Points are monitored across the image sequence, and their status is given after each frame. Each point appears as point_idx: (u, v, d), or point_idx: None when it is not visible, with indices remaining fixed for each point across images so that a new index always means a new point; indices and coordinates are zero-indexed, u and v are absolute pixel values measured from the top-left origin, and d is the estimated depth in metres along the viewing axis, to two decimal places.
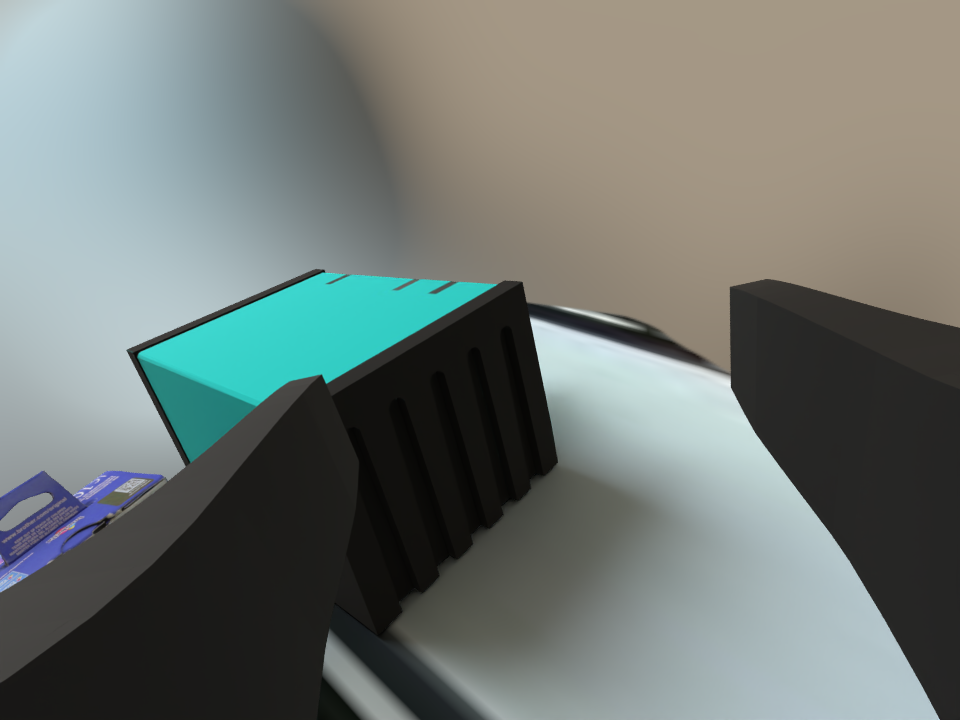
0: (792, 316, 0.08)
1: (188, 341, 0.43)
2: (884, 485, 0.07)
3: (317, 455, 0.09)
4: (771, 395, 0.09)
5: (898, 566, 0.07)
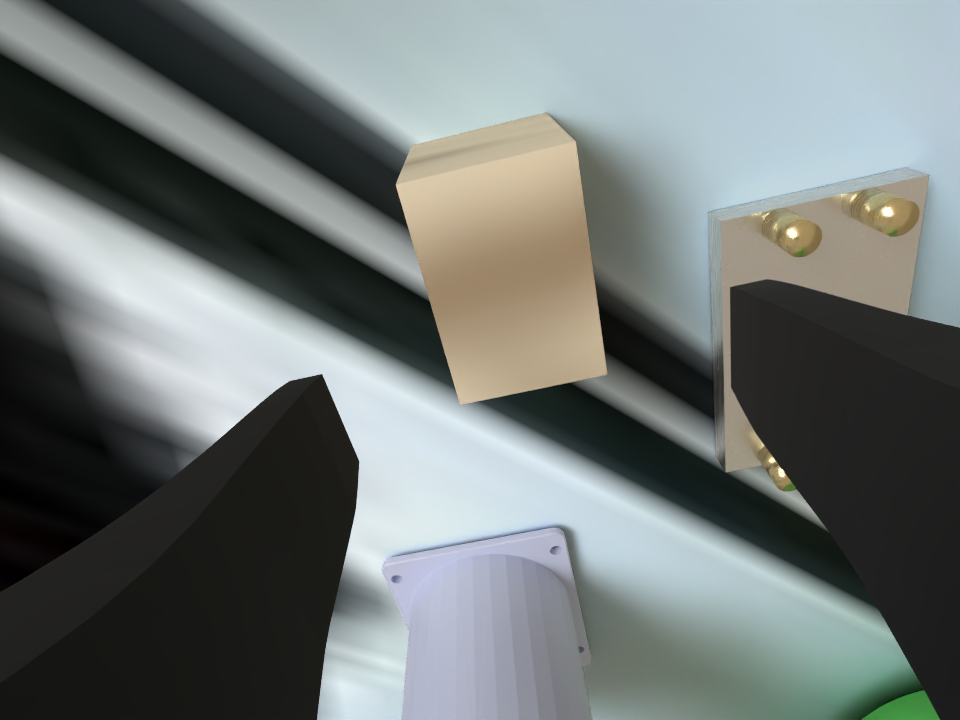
0: (792, 316, 0.08)
1: None
2: (884, 486, 0.07)
3: (317, 455, 0.09)
4: (771, 396, 0.09)
5: (898, 566, 0.07)
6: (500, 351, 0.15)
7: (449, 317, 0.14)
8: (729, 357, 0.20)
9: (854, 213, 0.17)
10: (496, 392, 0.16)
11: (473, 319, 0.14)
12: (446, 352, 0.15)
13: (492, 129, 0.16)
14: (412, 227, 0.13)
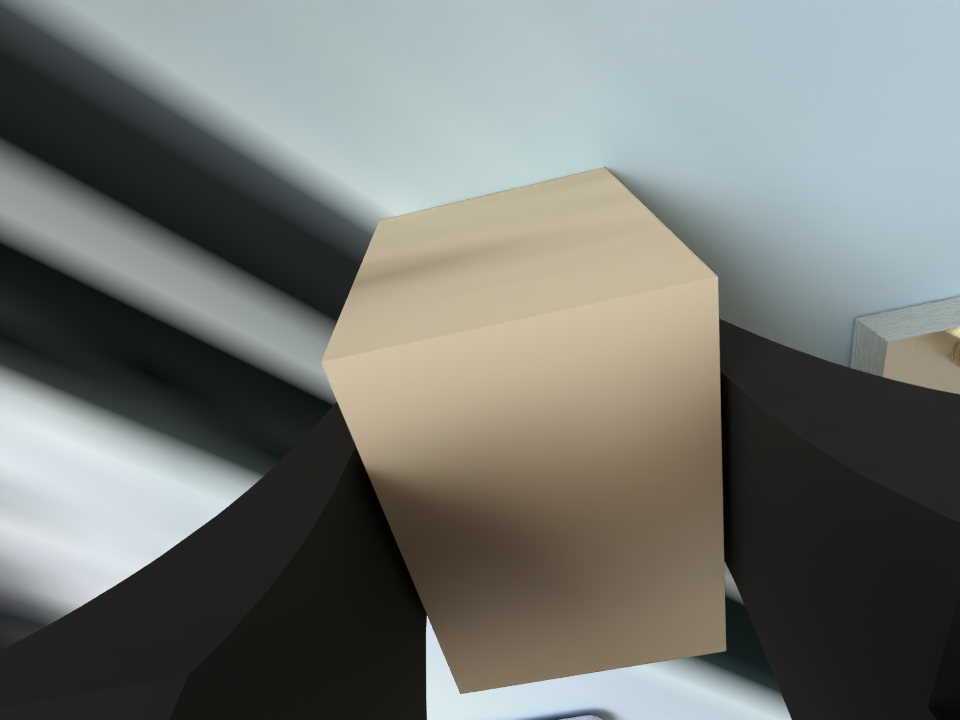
0: None
1: None
2: (748, 510, 0.07)
3: None
4: None
5: (763, 589, 0.07)
6: (535, 624, 0.08)
7: (439, 577, 0.08)
8: None
9: None
10: (526, 677, 0.09)
11: (486, 580, 0.08)
12: (434, 626, 0.08)
13: (516, 200, 0.09)
14: (361, 437, 0.06)
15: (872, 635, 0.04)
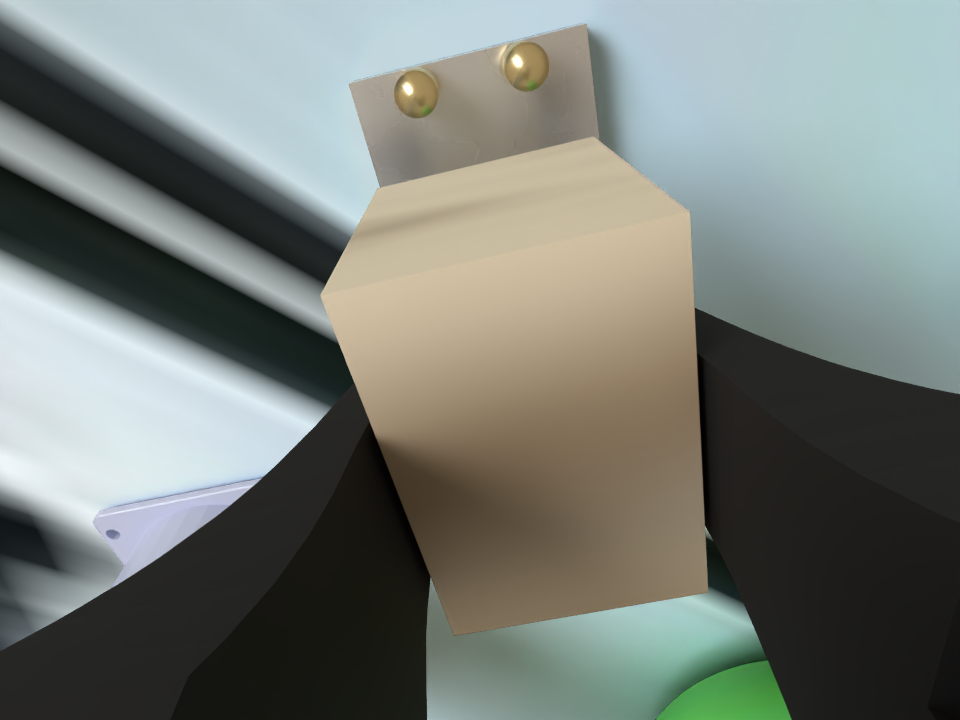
0: None
1: None
2: (748, 510, 0.07)
3: None
4: None
5: (762, 589, 0.07)
6: (524, 563, 0.08)
7: (432, 514, 0.08)
8: None
9: (502, 72, 0.14)
10: (516, 618, 0.09)
11: (476, 517, 0.08)
12: (428, 565, 0.08)
13: (507, 166, 0.10)
14: (358, 371, 0.07)
15: (871, 635, 0.04)
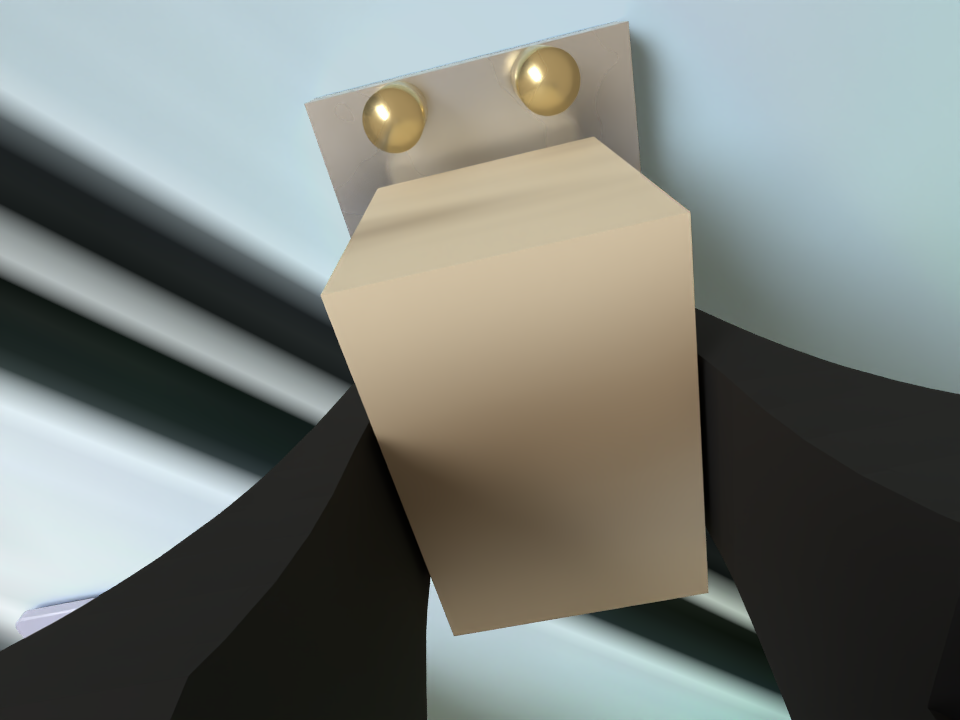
0: None
1: None
2: (748, 510, 0.07)
3: None
4: None
5: (762, 589, 0.07)
6: (525, 563, 0.08)
7: (433, 514, 0.08)
8: None
9: (513, 87, 0.10)
10: (517, 618, 0.09)
11: (477, 517, 0.08)
12: (428, 565, 0.08)
13: (507, 166, 0.10)
14: (358, 371, 0.07)
15: (871, 635, 0.04)
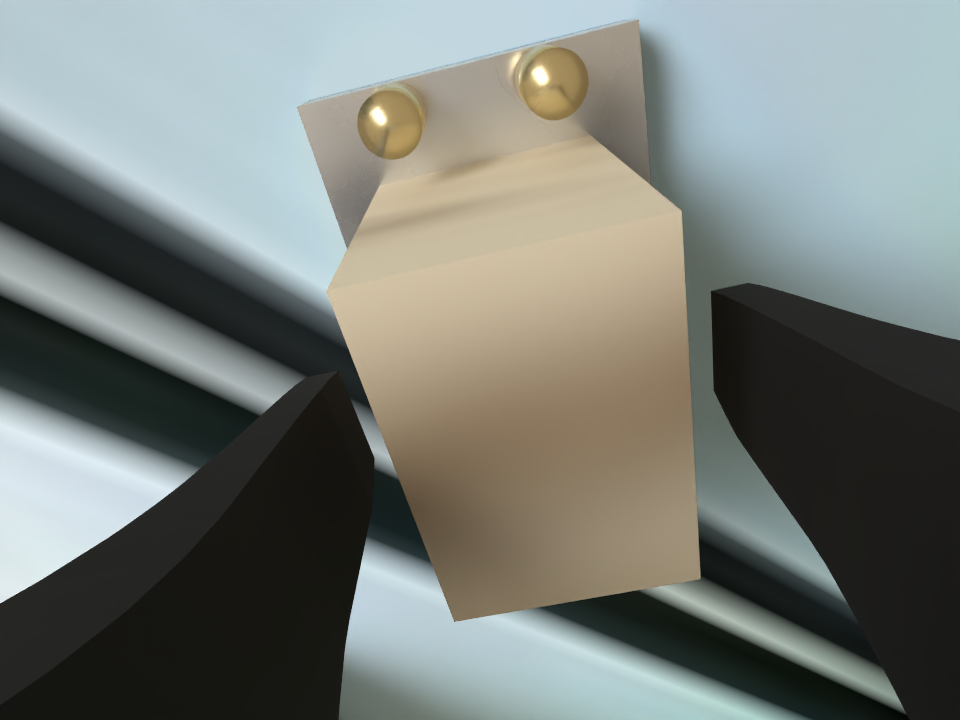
0: (769, 321, 0.08)
1: None
2: (857, 491, 0.07)
3: (335, 452, 0.09)
4: (751, 399, 0.09)
5: (871, 571, 0.07)
6: (523, 550, 0.09)
7: (433, 503, 0.08)
8: None
9: (516, 89, 0.10)
10: (515, 604, 0.09)
11: (476, 506, 0.08)
12: (429, 552, 0.09)
13: (506, 164, 0.10)
14: (362, 363, 0.07)
15: None
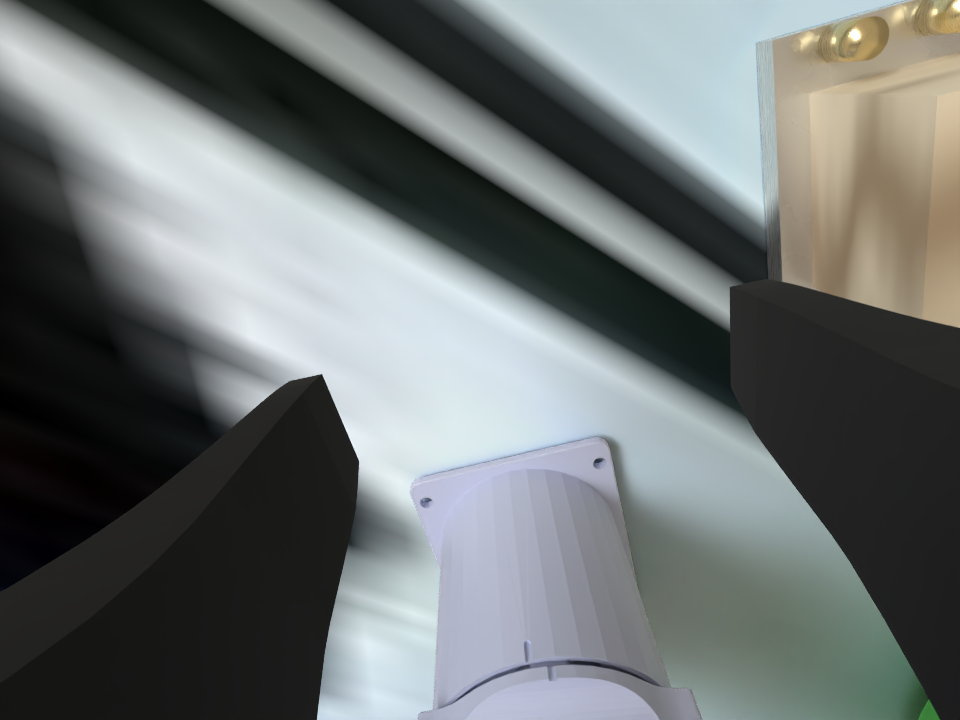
0: (792, 316, 0.08)
1: None
2: (885, 485, 0.07)
3: (316, 455, 0.09)
4: (771, 396, 0.09)
5: (898, 566, 0.07)
6: None
7: (942, 247, 0.14)
8: (786, 210, 0.18)
9: (919, 22, 0.16)
10: None
11: None
12: (925, 287, 0.14)
13: (913, 68, 0.16)
14: (937, 144, 0.13)
15: None
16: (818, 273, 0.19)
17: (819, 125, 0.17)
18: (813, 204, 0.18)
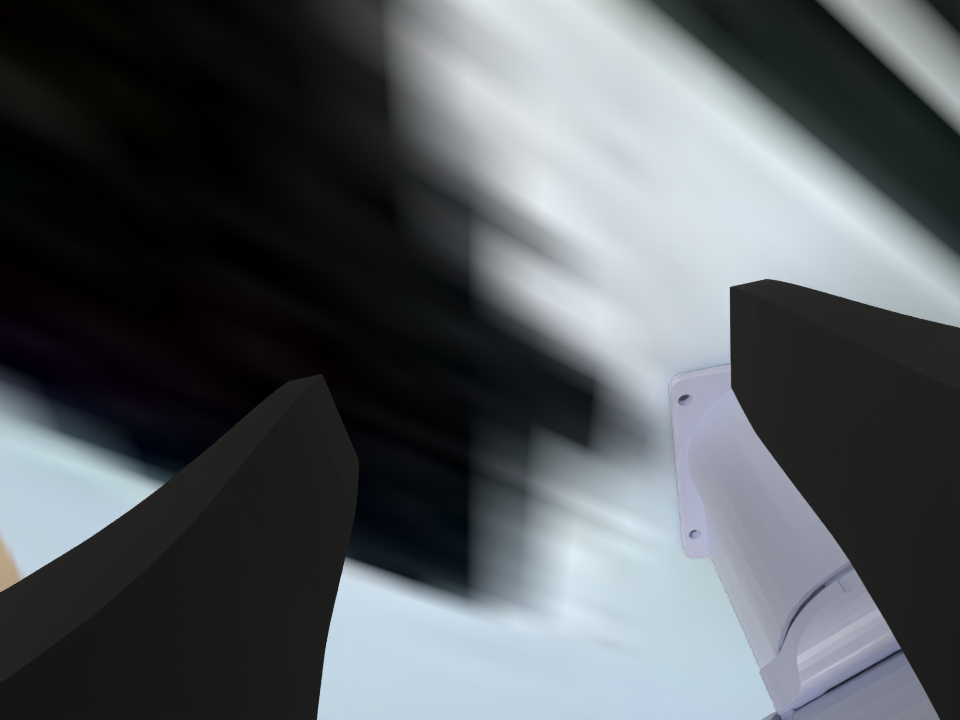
0: (792, 316, 0.08)
1: None
2: (884, 486, 0.07)
3: (317, 455, 0.09)
4: (772, 396, 0.09)
5: (898, 566, 0.07)
6: None
7: None
8: None
9: None
10: None
11: None
12: None
13: None
14: None
15: None
16: None
17: None
18: None
